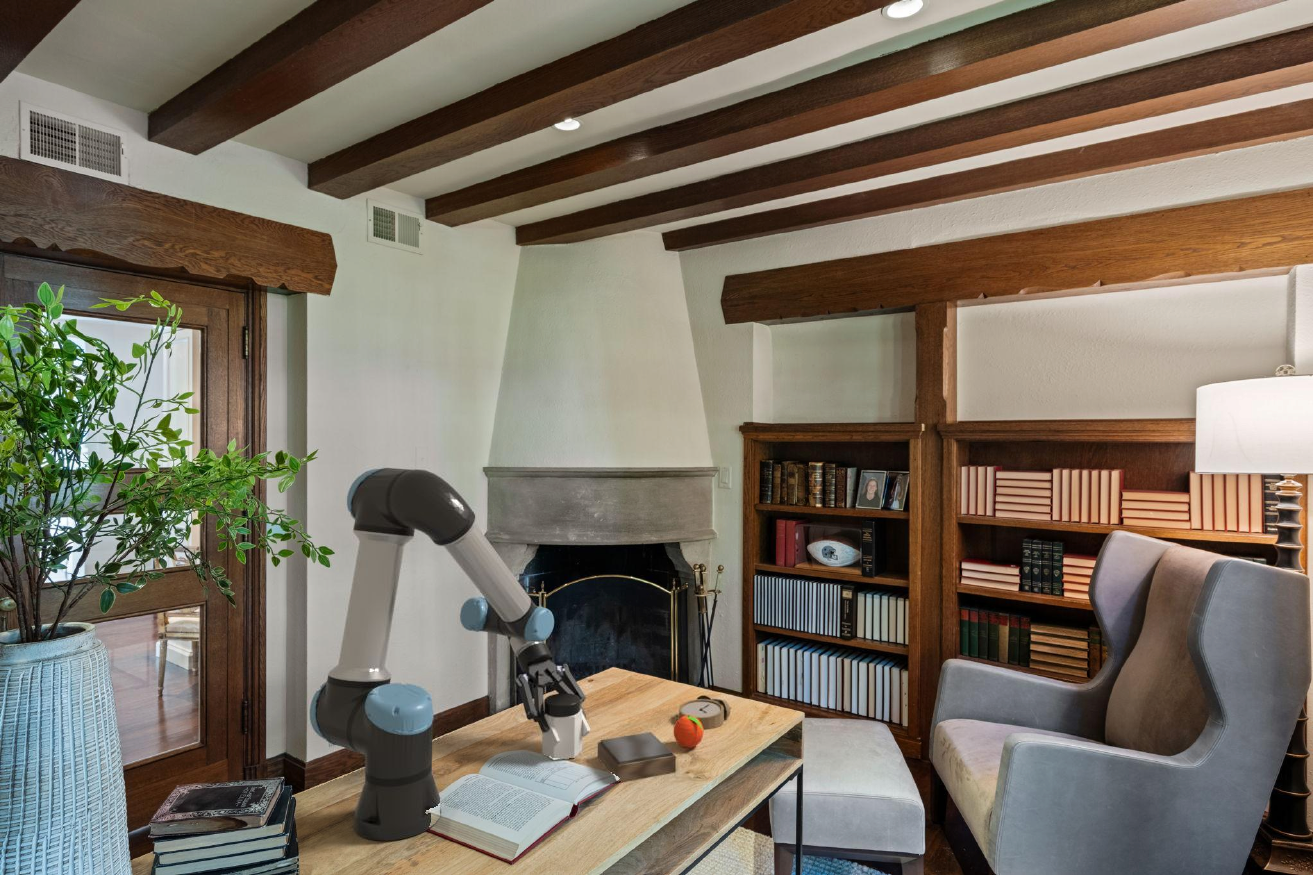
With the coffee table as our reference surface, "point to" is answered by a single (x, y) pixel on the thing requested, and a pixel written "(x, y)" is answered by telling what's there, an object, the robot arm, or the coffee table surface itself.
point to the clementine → (688, 731)
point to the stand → (636, 756)
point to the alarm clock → (706, 711)
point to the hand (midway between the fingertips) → (571, 738)
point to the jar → (564, 725)
